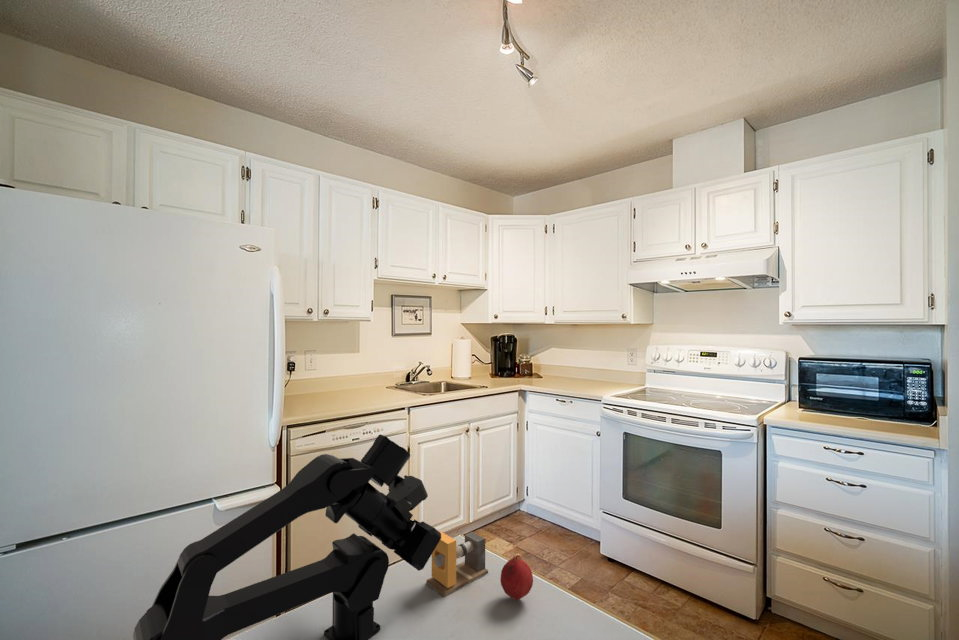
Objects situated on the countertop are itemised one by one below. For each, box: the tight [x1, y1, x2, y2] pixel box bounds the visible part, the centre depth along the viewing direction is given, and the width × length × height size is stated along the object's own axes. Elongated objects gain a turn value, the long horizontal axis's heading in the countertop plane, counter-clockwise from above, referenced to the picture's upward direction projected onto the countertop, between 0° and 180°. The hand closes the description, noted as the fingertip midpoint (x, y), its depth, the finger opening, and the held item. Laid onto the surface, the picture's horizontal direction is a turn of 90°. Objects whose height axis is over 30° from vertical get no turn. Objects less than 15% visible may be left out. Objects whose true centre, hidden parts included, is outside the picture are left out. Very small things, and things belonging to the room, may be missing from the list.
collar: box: [431, 530, 457, 588], centre depth 80 cm, size 2×5×8 cm, turn 43°
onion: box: [499, 553, 534, 601], centre depth 76 cm, size 6×6×8 cm
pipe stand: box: [425, 531, 489, 597], centre depth 83 cm, size 11×6×6 cm, turn 133°
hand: (424, 552), depth 78 cm, fingers closed
